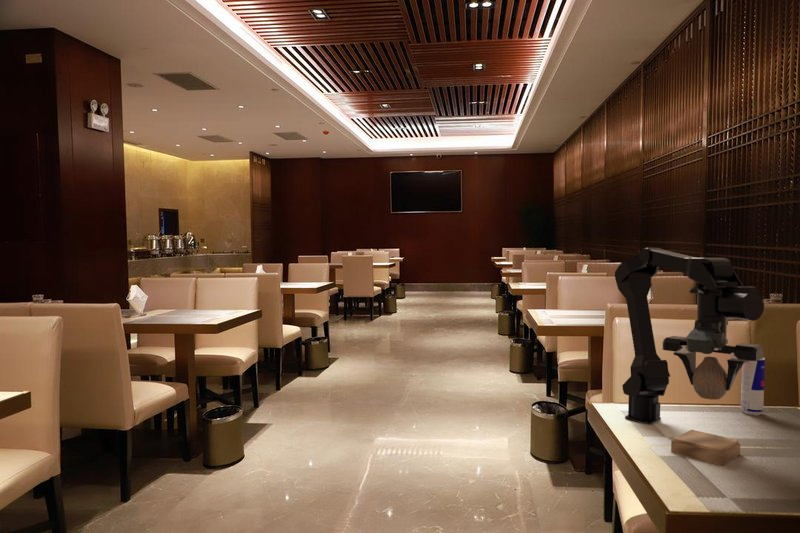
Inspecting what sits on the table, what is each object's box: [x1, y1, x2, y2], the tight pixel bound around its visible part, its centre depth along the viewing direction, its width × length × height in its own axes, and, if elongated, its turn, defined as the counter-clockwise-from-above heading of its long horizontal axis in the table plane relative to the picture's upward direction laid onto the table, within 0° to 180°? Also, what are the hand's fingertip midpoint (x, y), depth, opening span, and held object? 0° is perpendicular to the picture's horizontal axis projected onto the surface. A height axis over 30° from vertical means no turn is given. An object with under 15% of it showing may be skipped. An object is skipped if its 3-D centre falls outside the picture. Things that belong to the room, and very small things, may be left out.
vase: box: [692, 356, 728, 401], centre depth 129 cm, size 7×7×9 cm
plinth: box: [670, 429, 741, 467], centre depth 124 cm, size 10×10×3 cm
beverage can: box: [740, 357, 766, 416], centre depth 155 cm, size 5×5×15 cm
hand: (710, 387), depth 129 cm, fingers closed on vase, 7 cm apart
